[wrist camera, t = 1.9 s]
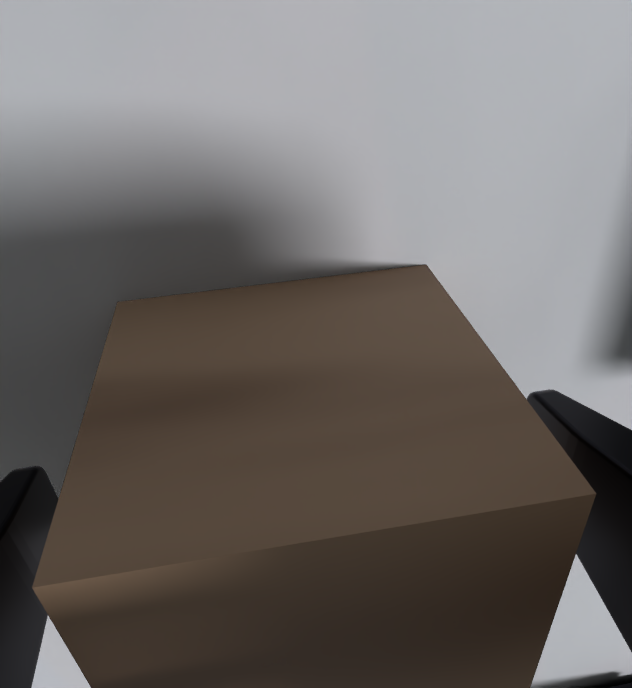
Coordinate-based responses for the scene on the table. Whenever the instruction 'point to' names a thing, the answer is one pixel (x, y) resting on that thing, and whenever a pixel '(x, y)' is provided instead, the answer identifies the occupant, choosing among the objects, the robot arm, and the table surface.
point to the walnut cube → (309, 496)
